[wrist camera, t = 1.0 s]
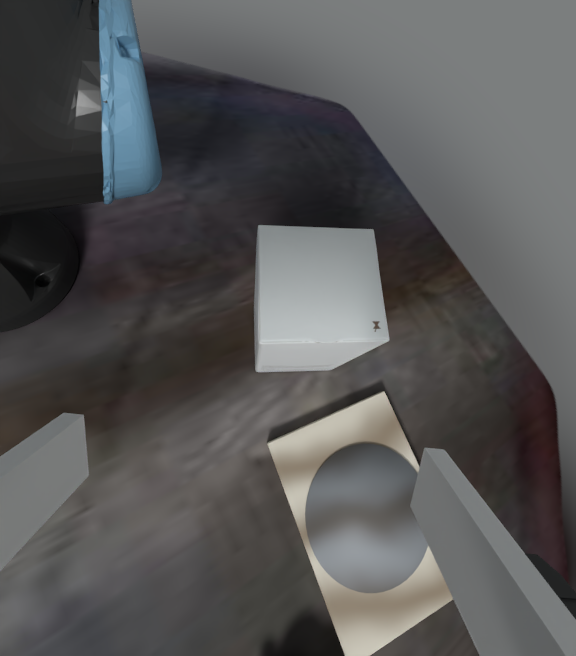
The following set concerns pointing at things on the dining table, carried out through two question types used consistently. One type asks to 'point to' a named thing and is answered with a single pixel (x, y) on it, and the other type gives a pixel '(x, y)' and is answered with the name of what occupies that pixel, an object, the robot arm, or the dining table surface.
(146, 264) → the dining table surface
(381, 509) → the board
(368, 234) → the supplement box
